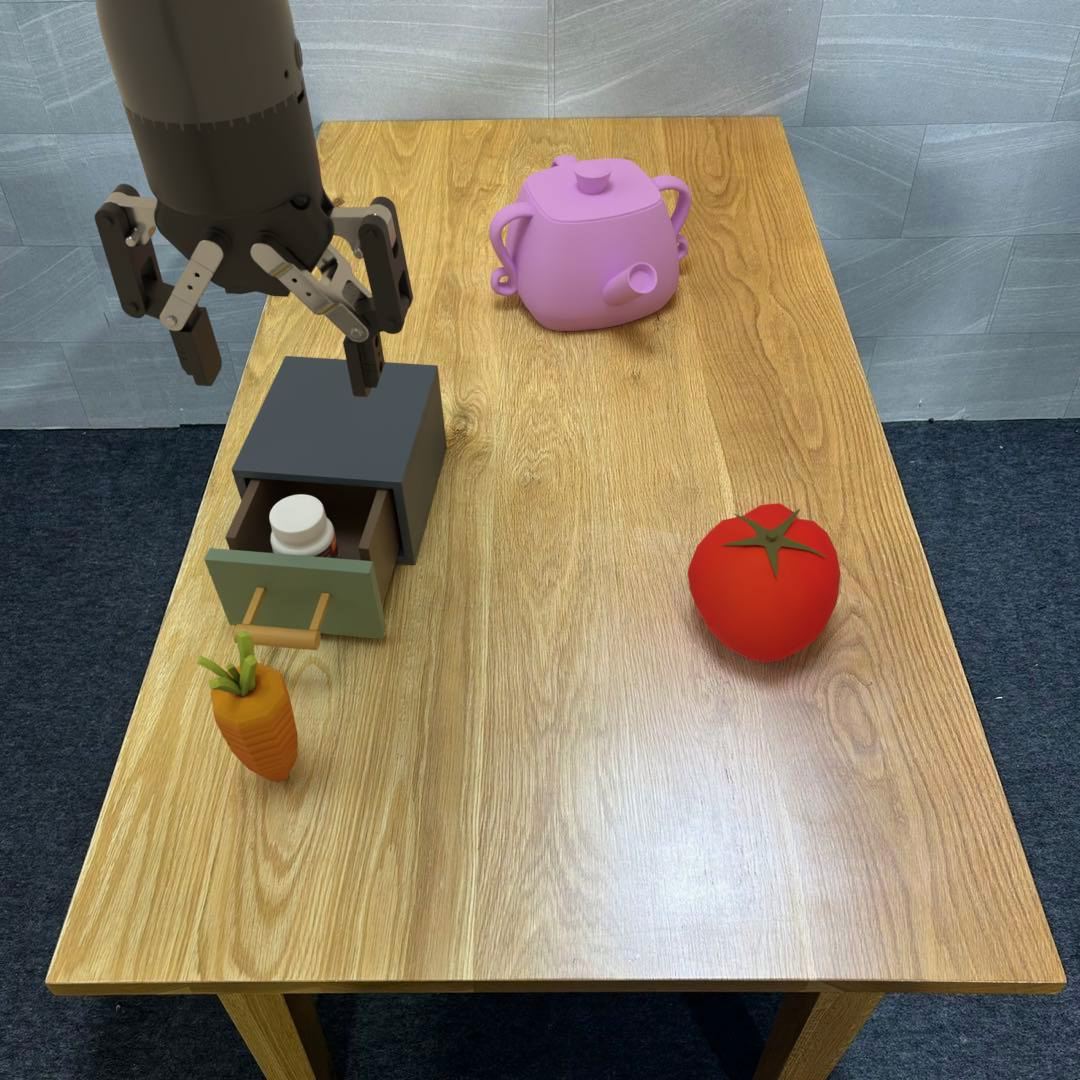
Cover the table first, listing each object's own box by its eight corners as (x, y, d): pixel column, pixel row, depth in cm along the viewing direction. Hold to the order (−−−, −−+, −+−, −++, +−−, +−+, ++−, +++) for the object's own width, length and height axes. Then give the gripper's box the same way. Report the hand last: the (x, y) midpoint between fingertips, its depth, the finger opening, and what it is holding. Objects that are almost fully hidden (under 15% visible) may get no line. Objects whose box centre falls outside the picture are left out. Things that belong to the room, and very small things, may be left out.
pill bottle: (357, 591, 82) (340, 518, 76) (302, 618, 80) (280, 545, 74) (330, 555, 85) (311, 481, 78) (276, 580, 83) (253, 507, 77)
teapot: (562, 227, 122) (561, 107, 112) (723, 277, 114) (739, 153, 104) (470, 308, 111) (460, 184, 101) (641, 369, 103) (650, 242, 93)
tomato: (824, 568, 85) (849, 478, 78) (827, 696, 77) (855, 609, 69) (688, 553, 87) (699, 463, 79) (675, 677, 78) (687, 589, 71)
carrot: (269, 824, 70) (214, 699, 59) (232, 775, 73) (173, 648, 62) (330, 780, 73) (288, 653, 62) (292, 735, 75) (246, 605, 64)
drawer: (368, 691, 77) (352, 626, 71) (208, 676, 78) (179, 611, 72) (418, 514, 89) (408, 447, 83) (279, 504, 90) (260, 436, 85)
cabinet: (415, 565, 86) (401, 482, 79) (257, 552, 88) (230, 469, 81) (447, 448, 96) (437, 365, 89) (305, 437, 97) (285, 355, 90)
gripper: (8, 109, 41) (133, 419, 53) (355, 123, 40) (403, 438, 52) (87, 34, 46) (184, 332, 58) (397, 44, 45) (432, 347, 57)
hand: (287, 382), depth 55 cm, fingers open, 8 cm apart
